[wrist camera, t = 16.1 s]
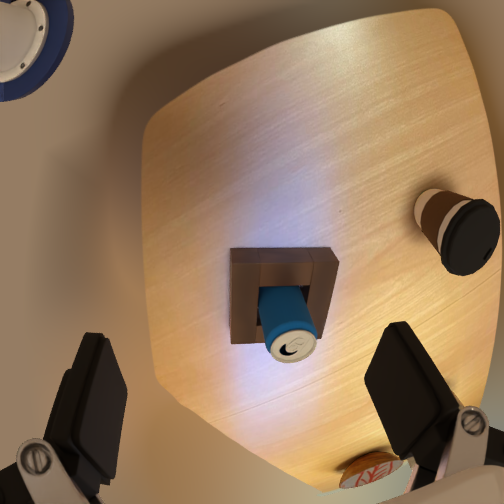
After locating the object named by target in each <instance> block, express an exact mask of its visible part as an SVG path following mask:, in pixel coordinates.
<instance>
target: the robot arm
mask: <svg viewBox="0 0 504 504" xmlns="http://www.w3.org/2000/svg"><path fill="white" fill-rule="evenodd" d="M48 29H49V17H48V13H47V10H46V8H45V6H44V5H43V4H42V3H40V2H38V1H37V0H17V1H15V2H12V3H11V4H8V3H4V2H0V82H9V81H12V80H15V79H16V78H18V77H20V76H21V75H23V74H24V73H25V72H26V71H27V70H28V69H29V68H30V67H31V66H32V65H33V64H34V62H35V61H36V59H37V58H38V56H39V55H40V53H41V51H42V49H43V47H44V44H45V42H46V38H47V35H48ZM364 381H365V385H366V387H367V389H368V392H369V394H370V396H371V399H372V401H373V403H374V406H375V408H376V410H377V413H378V415H379V417H380V420H381V422H382V424H383V427H384V429H385V432H386V434H387V437H388V439H389V441H390V444H391V446H392V449H393V451H394V453H395V454H396V455H397V456H398V455H399V458H400V460H401V461H402V460H405V459H408V458H411V457H414V460H415V465H414V468H413V471H412V474H411V476H410V479H409V482H408V484H407V487H406V490H405V492H404V494H403V495H401V496H398V497H395V498H392V499H390V500H387V501H384V502H381V503H378V504H504V432H503V431H501V430H498V429H495V428H493V427H490V426H489V421H488V418H487V416H486V414H485V413H484V412H483V411H482V410H481V409H479V408H477V407H475V406H466V407H464V408H462V409H461V410H460V409H459V408H458V407H459V406H460V405H459V403H458V402H457V400H456V398H455V397H454V395H453V393H452V391H451V390H450V388H449V386H448V385H447V383H446V382H445V380H444V378H443V377H442V375H441V373H440V372H439V370H438V369H437V367H436V365H435V364H434V362H433V361H432V359H431V358H430V356H429V355H428V353H427V351H426V350H425V348H424V347H423V345H422V344H421V342H420V341H419V339H418V338H417V336H416V335H415V333H414V332H413V330H412V329H411V327H410V326H409V324H408V323H407V322H405V321H401V322H394V323H390V324H389V325H388V327H386V328H385V330H384V332H383V334H382V337H381V339H380V342H379V344H378V346H377V349H376V351H375V354H374V356H373V358H372V360H371V363H370V365H369V367H368V369H367V371H366V374H365V377H364ZM126 401H127V387H126V384H125V381H124V379H123V376H122V374H121V371H120V368H119V366H118V363H117V360H116V358H115V355H114V352H113V349H112V346H111V343H110V340H109V339H108V338H105V337H104V335H103V334H102V333H88V332H86V333H85V335H84V336H83V339H82V341H81V344H80V347H79V349H78V352H77V355H76V357H75V360H74V362H73V365H72V368H71V369H68V370H66V372H65V373H64V376H63V378H62V381H61V384H60V387H59V390H58V392H57V395H56V398H55V401H54V405H53V408H52V411H51V414H50V417H49V420H48V424H47V427H46V430H45V434H44V437H43V440H42V439H38V438H33V439H30V440H27V441H25V442H24V443H22V445H21V446H20V447H19V449H18V451H17V455H16V462H15V463H13V464H12V465H10V466H8V467H6V468H4V469H2V470H1V471H0V504H105V503H104V502H103V500H102V499H101V497H100V496H99V494H98V493H99V488H100V484H104V485H110V479H114V478H115V475H116V467H117V457H118V451H119V443H120V437H121V430H122V424H123V418H124V412H125V406H126Z"/></svg>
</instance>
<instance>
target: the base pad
mask: <svg viewBox="0 0 504 504" xmlns="http://www.w3.org/2000/svg"><path fill="white" fill-rule="evenodd" d="M338 266H339V260H338V259H337V257H336V256H335V254H334V253H333V251H332V250H331V248H231V249H230V338H231V344H251V343H265V340H264V335H263V330H262V325H261V319H260V314H259V309H258V296H259V287H267V286H299V285H301V286H300V290H301V292H302V295H303V297H304V300H305V303H306V305H307V308H308V310H309V313H310V315H311V318H312V320H313V323H314V326H315V328H316V331H317V339H321V338H322V334H323V330H324V326H325V322H326V318H327V314H328V310H329V306H330V302H331V297H332V293H333V289H334V284H335V280H336V275H337V271H338Z"/></svg>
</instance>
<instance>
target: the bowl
mask: <svg viewBox="0 0 504 504" xmlns="http://www.w3.org/2000/svg"><path fill="white" fill-rule="evenodd" d="M403 462H404V461H403V460H402V461H401V460H400V458H399V457H398V456H396V455H394V454H391V453H386V452H373V453H369V454H366V455H364V456H362V457H360V458H358V459H356V460H355V461H354V462H353V463H352V464H351V465H350V466H349V467H348V468H347V469H346V470H345V472H344V474H343V475H342V478H341V480H340V484H339V487H340V488H353V487H358V486H362V485H365V484H368V483H371V482H374V481H376V480H379V479H381V478H383V477H385V476H387V475H389V474H390V473H392V472H394V471H395V470H397V469H398V468H399V467H400V466H401V465H402V464H403Z"/></svg>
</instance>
